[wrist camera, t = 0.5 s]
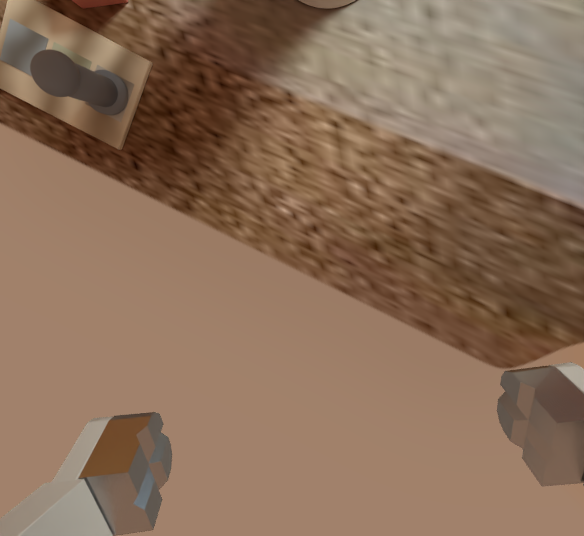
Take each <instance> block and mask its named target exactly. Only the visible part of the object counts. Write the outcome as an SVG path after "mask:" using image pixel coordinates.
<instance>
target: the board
mask: <svg viewBox="0 0 584 536" xmlns="http://www.w3.org/2000/svg"><path fill="white" fill-rule="evenodd" d="M47 49H51V50H57V51H59V52H62V53H64V54H65V55H67V56H68V57H69V58H70V59H71V60H72V61H73V62H74V63H76V64H79V65H81V66H83V67H85V68H87V69H90V70H92V71H96V70H107V71H110V72H112V73H114V74H116V75H118V76H119V77H120V78H121V79H122V80H123V81H124V83H125V84H126V86H127V89H128V94H129V98H128V103H127V106H126V107H125V109H124V110H123V111H122V112H121V113H119V114H116V115H106V114H103V113H99V112H97V111H96V110H94V109H93V108H92V107H91V106H90V105H89V103H88V102H85V101H82V100H79V99H75V98H72V97H69V96H67V97H56V96H52V95H50V94H48V93H46V92H44V91H43V90H42V89H41V88H40V87H39V86H38V85H37V84H36V83H35V81H34V79H33V77H32V75H31V71H30V64H31V60H32V58H33V57H34V55H35V54H36V53H38V52H40V51H42V50H47ZM152 64H153V63H152V62H150V61H148V60H146V59H144V58H143V57H141V56H139V55H137V54H135V53H133V52H131V51H129V50H128V49H126V48H124V47H122V46H120V45H118V44H116V43H114V42H113V41H111V40H109V39H107V38H105V37H103V36H101V35H99V34H98V33H96V32H94V31H92V30H90V29H88V28H86V27H84V26H83V25H81V24H79V23H77V22H75V21H73V20H71V19H69V18H68V17H66V16H64V15H62V14H60V13H58V12H56V11H54V10H53V9H51V8H49V7H47V6H45V5H43V4H41V3H39V2H38V1H36V0H8V2H7V6H6V10H5V14H4V18H3V22H2V26H1V30H0V89H2V90H4V91H6V92H8V93H10V94H12V95H14V96H16V97H18V98H20V99H21V100H23V101H25V102H27V103H29V104H31V105H33V106H35V107H37V108H39V109H41V110H43V111H45V112H47V113H49V114H51V115H53V116H54V117H56V118H58V119H60V120H62V121H64V122H66V123H68V124H70V125H72V126H74V127H76V128H78V129H80V130H82V131H84V132H86V133H87V134H89V135H91V136H93V137H95V138H97V139H99V140H101V141H103V142H105V143H107V144H109V145H111V146H113V147H115V148H117V149H119V150H122V148H123V145H124V142H125V139H126V137H127V134H128V131H129V128H130V126H131V123H132V120H133V117H134V114H135V112H136V109H137V106H138V103H139V101H140V98H141V95H142V92H143V89H144V87H145V84H146V81H147V78H148V76H149V73H150V70H151V67H152Z"/></svg>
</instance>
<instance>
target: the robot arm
mask: <svg viewBox="0 0 584 536" xmlns="http://www.w3.org/2000/svg"><path fill="white" fill-rule="evenodd" d="M299 1H301V2H303V3H305V4H307V5H310V6H313V7H317V8H337V7H341V6H344V5H347V4H349V3H352V2H353V1H355V0H299ZM500 385H501V386H502V387H503V389H504V390H505V392H504V393H503V395H502V396H501V397H500V398H499V399H498V405H497V412H498V417H499V421H500V424H501V426H502V428H503V431H504V432H505V434H506V435H507V437H508V438H509V440H510V441H511V442H513V443H514V444H516V445H517V446H519V447H521V448H522V449H523V456H522V459H523V460H524V461H525V463H526V465H527V466H528V467H529V469H530V470H531V472H532V473H533V474H534V476H535V477H536V479H537V480H538V482H539V483H540V484H541V486H553V485H565V484H577V483H584V369H583V368H581V367H580V366H579V365H577V364H574V363H572V362H571V363H563V364H556V365H549V366H542V367H533V368H526V369H517V370H510V371H505V372H504V373H503V375H502V377H501V383H500ZM162 427H163V422H162V419H161V416H160V414H159V413H156V412H152V413H141V414H131V415H120V416H114V417H103V418H94V419H92V420H91V421H89V422H88V423H87V424H86V426H85V428H84V429H83V431H82V433H81V434H80V436H79V438H78V439H77V441H76V443H75V444H74V446H73V448H72V449H71V451H70V452H69V454H68V456H67V458H66V459H65V461H64V463H63V464H62V466H61V468H60V469H59V471H58V472H57V474H56V476H55V478H54V479H53V481H52V482H51V483H45V484H43V485H42V486H41V487H39V488H38V489H37V490H36V491H34V492H33V493H32V494H31V495H29V496H28V497H27V498H26V499H24V500H23V501H22V502H21V503H19V504H18V505H17V506H16V507H15V508H13V509H12V510H11V511H9V512H8V513H7V514H6V515H4V516H3V517H2V518H1V519H0V536H116V535H123V534H129V533H137V532H143V531H151V530H153V529H154V526H155V522H156V519H157V516H158V512H159V509H160V506H161V502H162V497H161V495H160V492H159V489H160V488H161V487H162V486H163V485H164V484H165V483H166V482H167V481H168V478H169V474H170V470H171V462H172V450H171V444H170V441H169V438H168V437H167V436H165V435H164V434H163V433H161V429H162ZM583 485H584V484H583Z"/></svg>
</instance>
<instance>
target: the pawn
mask: <svg viewBox="0 0 584 536" xmlns="http://www.w3.org/2000/svg"><path fill="white" fill-rule="evenodd" d="M30 71H31V75H32V77H33V79H34V81H35V83H36V84H37V85H38V86H39V87H40V88H41V89H42V90H43V91H44V92H46V93H48V94H50V95H52V96H56V97H67V96H69V97H72V98H75V99H79V100H82V101H85V102H88V103H89V105H90V106H91V107H92V108H93V109H94V110H96V111H97V112H99V113H103V114H106V115H116V114H119V113H121V112H122V111H123V110H124V109H125V107H126V106H127V103H128V98H129V94H128V89H127V86H126V84H125V83H124V81H123V80H122V79H121V78H120V77H119V76H118V75H116V74H114V73H112V72H110V71H107V70H96V71H92V70H90V69H87V68H85V67H83V66H81V65H79V64H76V63H74V62H73V61H72V60H71V59H70V58H69V57H68V56H67V55H65V54H64V53H62V52H59V51H57V50H51V49H47V50H42V51H40V52H38V53H36V54H35V55H34V57H33V58H32V60H31V64H30Z"/></svg>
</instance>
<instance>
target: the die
mask: <svg viewBox="0 0 584 536" xmlns="http://www.w3.org/2000/svg"><path fill="white" fill-rule="evenodd" d="M71 1H73V2H74V3H76V4H77V5H79V6H80V7H81V8H83V9H84V8H91V7H98V6H106V5H113V4H121V3H128V0H71Z"/></svg>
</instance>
